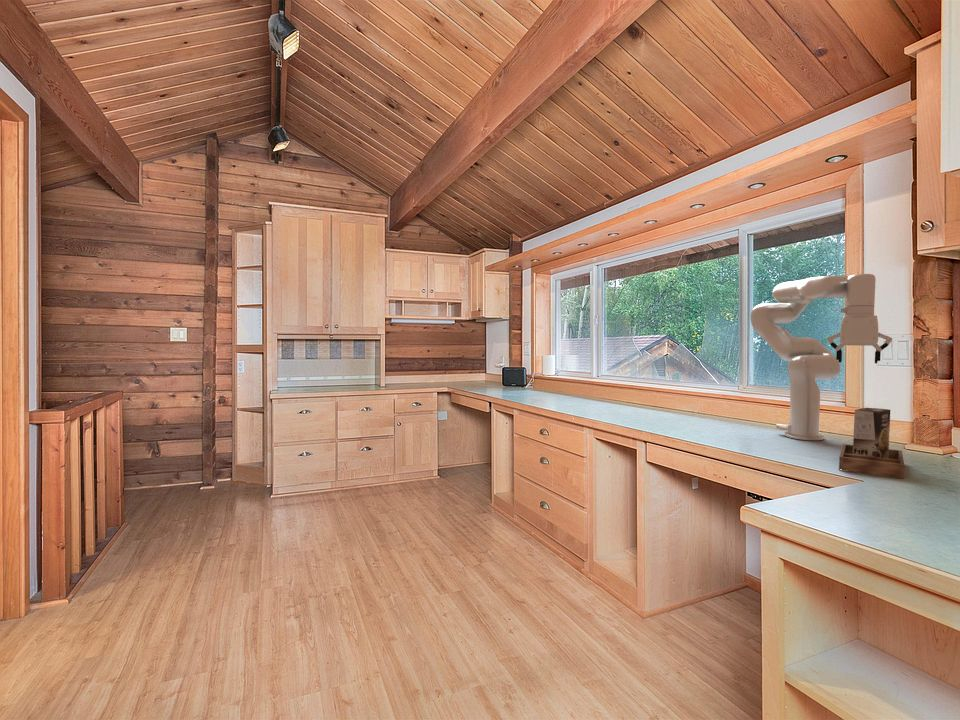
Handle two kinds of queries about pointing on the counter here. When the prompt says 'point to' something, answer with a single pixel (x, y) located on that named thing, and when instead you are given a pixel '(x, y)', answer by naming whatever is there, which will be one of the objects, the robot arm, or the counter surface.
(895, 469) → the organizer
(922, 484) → the counter surface
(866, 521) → the counter surface
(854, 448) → the coffee box
